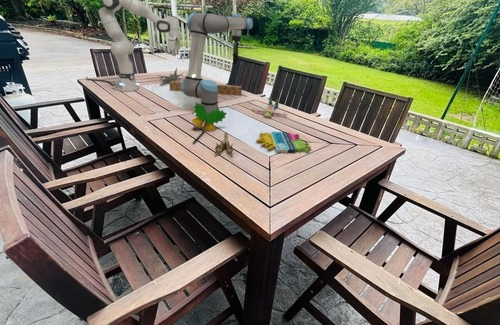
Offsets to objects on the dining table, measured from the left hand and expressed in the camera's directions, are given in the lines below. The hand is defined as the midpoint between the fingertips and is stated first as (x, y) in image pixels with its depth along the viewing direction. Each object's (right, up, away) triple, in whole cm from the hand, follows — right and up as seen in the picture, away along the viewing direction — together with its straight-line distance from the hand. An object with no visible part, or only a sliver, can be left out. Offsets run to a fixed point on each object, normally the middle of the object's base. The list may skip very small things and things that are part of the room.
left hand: (175, 55), depth 225 cm
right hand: (+51, -6, +1) cm, 52 cm away
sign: (+83, -81, -73) cm, 137 cm away
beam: (+24, -28, +14) cm, 39 cm away
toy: (+80, -54, -25) cm, 100 cm away
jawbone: (+51, -87, -87) cm, 133 cm away
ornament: (+39, -71, -61) cm, 101 cm away
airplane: (-17, -10, +41) cm, 46 cm away
